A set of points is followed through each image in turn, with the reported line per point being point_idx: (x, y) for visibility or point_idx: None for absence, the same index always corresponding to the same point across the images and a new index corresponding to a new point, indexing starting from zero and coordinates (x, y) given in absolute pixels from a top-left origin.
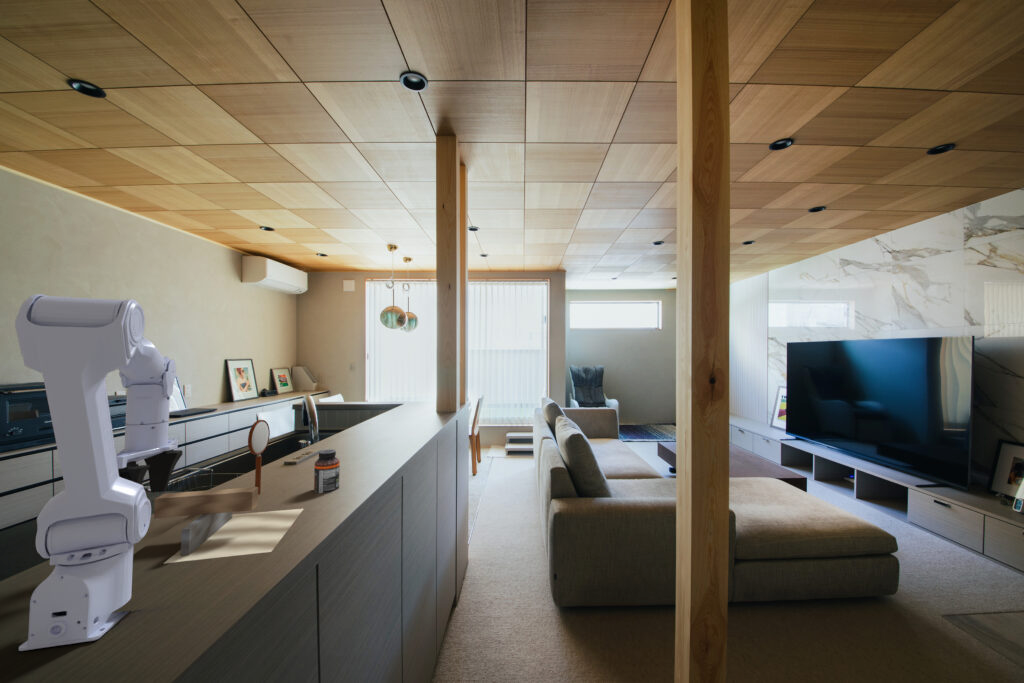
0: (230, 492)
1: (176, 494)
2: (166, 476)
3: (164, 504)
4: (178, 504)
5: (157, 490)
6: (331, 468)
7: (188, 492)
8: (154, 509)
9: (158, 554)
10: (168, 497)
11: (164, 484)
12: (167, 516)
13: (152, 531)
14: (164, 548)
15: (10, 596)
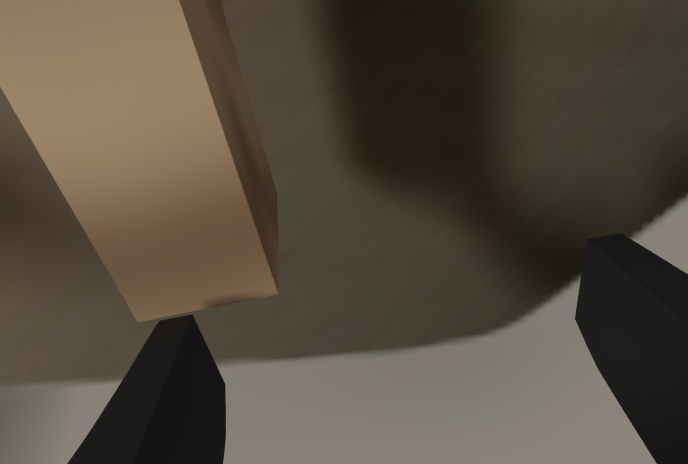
0: None
1: (141, 205)
2: (151, 453)
3: (256, 196)
4: (223, 83)
5: (206, 365)
6: None
7: (51, 129)
8: (275, 233)
9: (303, 39)
10: (239, 210)
11: (178, 374)
12: (253, 119)
13: (66, 276)
14: None
15: (563, 287)
